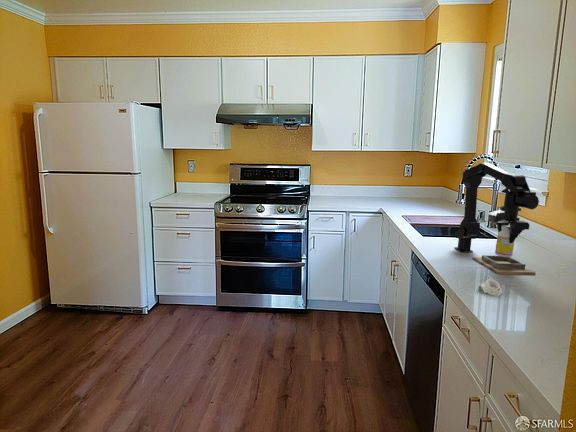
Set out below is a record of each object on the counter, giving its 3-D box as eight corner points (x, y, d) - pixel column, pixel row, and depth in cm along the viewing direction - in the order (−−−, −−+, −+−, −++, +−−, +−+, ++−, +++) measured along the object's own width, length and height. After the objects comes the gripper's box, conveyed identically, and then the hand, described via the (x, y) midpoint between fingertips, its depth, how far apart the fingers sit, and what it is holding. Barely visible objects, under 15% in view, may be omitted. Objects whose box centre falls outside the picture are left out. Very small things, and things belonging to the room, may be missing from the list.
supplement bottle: (496, 252, 175) (501, 223, 173) (513, 255, 171) (518, 226, 169) (493, 255, 170) (497, 226, 168) (510, 258, 166) (515, 229, 164)
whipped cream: (492, 290, 145) (494, 277, 145) (507, 296, 139) (509, 282, 139) (474, 290, 143) (476, 277, 143) (488, 296, 137) (490, 282, 136)
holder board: (472, 258, 181) (473, 252, 180) (506, 259, 182) (507, 253, 181) (497, 273, 161) (498, 266, 161) (535, 274, 162) (536, 267, 162)
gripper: (481, 200, 175) (476, 234, 178) (506, 208, 157) (500, 246, 160) (505, 201, 176) (499, 235, 179) (533, 209, 157) (526, 247, 161)
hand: (505, 240), depth 169 cm, fingers closed on supplement bottle, 7 cm apart
